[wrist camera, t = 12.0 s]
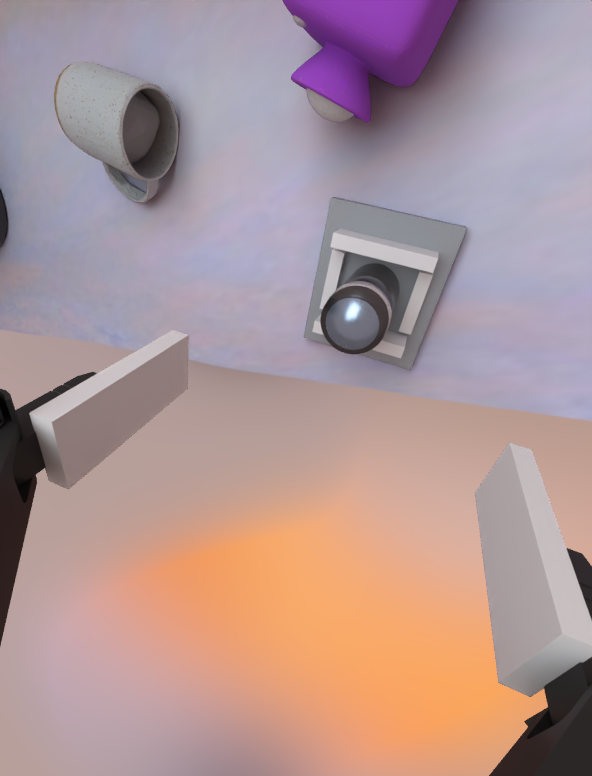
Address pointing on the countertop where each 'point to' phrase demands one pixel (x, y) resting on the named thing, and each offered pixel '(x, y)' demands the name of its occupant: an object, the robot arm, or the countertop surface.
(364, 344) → the lens
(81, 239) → the countertop surface
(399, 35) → the toy camera
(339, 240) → the mount
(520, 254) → the countertop surface
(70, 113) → the ceramic mug
